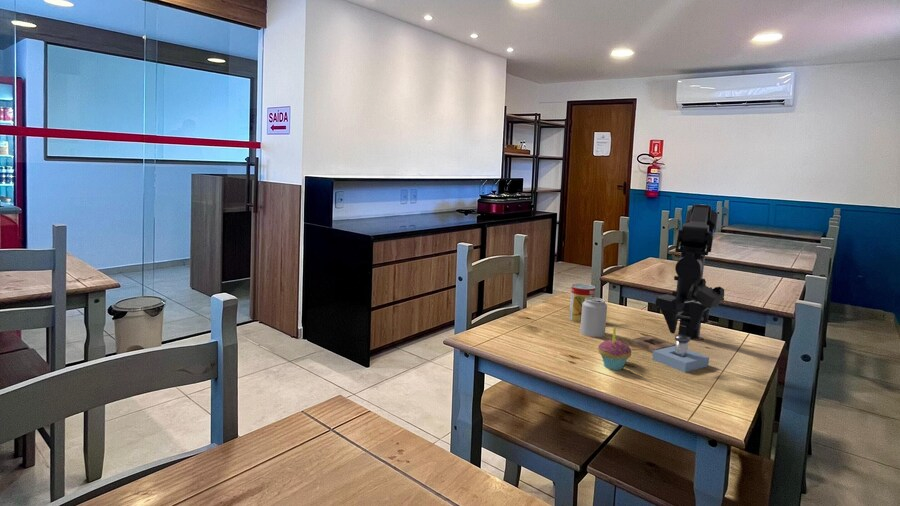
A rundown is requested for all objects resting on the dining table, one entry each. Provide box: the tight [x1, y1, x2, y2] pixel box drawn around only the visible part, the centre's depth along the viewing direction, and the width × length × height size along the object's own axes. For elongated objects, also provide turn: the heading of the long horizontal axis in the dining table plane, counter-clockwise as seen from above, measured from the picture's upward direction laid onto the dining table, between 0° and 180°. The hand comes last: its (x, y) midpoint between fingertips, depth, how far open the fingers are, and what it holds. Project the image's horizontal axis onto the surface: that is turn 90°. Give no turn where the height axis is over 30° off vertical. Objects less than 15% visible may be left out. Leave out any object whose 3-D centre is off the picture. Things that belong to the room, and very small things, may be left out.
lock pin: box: [674, 334, 691, 358], centre depth 143 cm, size 4×4×8 cm
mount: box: [629, 334, 676, 354], centre depth 156 cm, size 9×9×2 cm
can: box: [579, 296, 608, 338], centre depth 166 cm, size 8×8×12 cm
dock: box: [652, 346, 710, 373], centre depth 144 cm, size 10×10×4 cm
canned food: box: [568, 283, 596, 324], centre depth 184 cm, size 8×8×12 cm
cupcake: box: [597, 324, 632, 371], centre depth 141 cm, size 9×8×12 cm
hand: (683, 330), depth 142 cm, fingers open, 9 cm apart
